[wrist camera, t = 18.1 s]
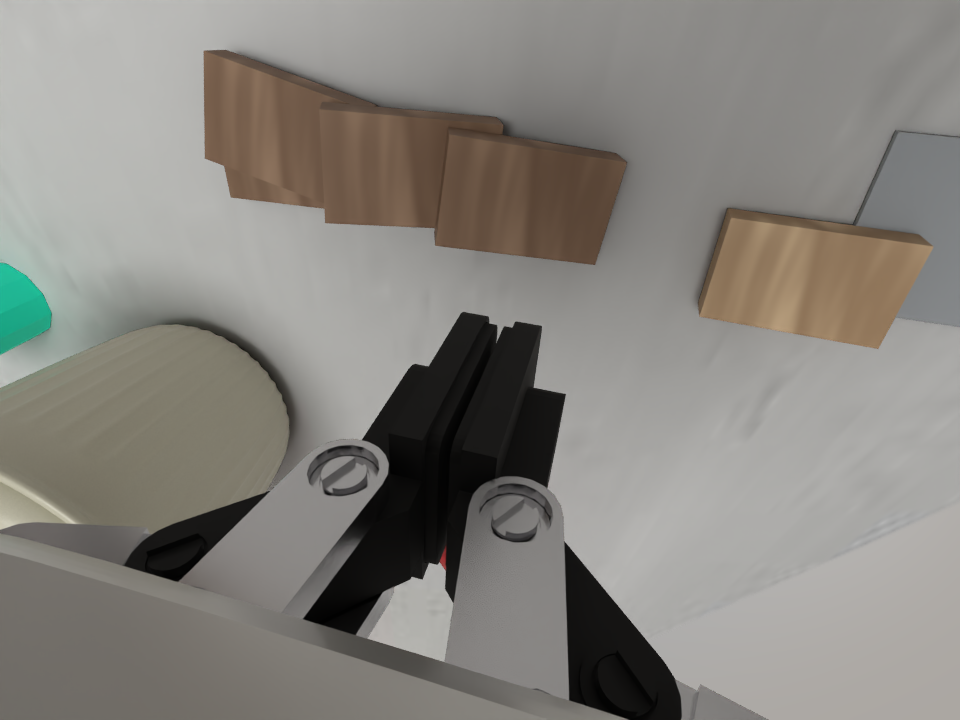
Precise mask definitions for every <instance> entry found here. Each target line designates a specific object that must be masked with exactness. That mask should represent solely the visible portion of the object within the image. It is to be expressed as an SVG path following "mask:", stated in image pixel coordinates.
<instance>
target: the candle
mask: <svg viewBox="0 0 960 720" xmlns="http://www.w3.org/2000/svg"><path fill="white" fill-rule="evenodd" d="M50 325H51V311H50V309H49V307H48V304H47V302H46V300H45V298H44V296H43V294H42V293H41V292H40V291H39V289H38V288H37V287H36V286H35V285H34V284H33V283H32V282H31V281H30V279H29V278H28V277H27V276H26V275H24V274H22V273H21V272H19V271H17V270H16V269H14V268H12V267H11V266H9V265H8V264H5V263H0V355H1V354H3V353H5V352H7V351H9V350H11V349H13V348H15V347H16V346H18V345H20V344H22V343H24V342H26V341H28V340H30V339H32V338H34V337H36V336H37V335H39V334H41V333H43V332H44V331H46V330H47V329H49V328H50Z"/></svg>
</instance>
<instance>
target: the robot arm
mask: <svg viewBox="0 0 960 720" xmlns="http://www.w3.org/2000/svg"><path fill="white" fill-rule="evenodd" d="M541 331H542V326H538V325H533V324H527V323H522V322H515V323H514V326H513V328H511V327H504V328H503V330H502V332H501V334H500V337H499V339H498V341H497V343H496V340H497V325H494V324H489V317H488V316H483V315H477V314H472V313H466V312H462V313H461V314H460V316H459V318H458V319H457V321H456V323H455V324H454V326H453V328H452V329H451V331H450V332H449V334H448V336H447V337H446V339H445V341H444V342H443V344H442V346H441V347H440V349H439V351H438V352H437V354H436V355H435V357H434V359H433V360H432V362H431V364H430V365H429V367H428V366H423V365H418V364H414V365H412V366H411V367H410V368H409V369H408V371H407V372H406V374H405V375H404V377H403V378H402V380H401V381H400V383H399V384H398V386H397V388H396V389H395V391H394V392H393V394H392V395H391V397H390V398H389V400H388V401H387V403H386V404H385V406H384V407H383V409H382V410H381V412H380V413H379V415H378V416H377V418H376V419H375V421H374V422H373V424H372V425H371V427H370V428H369V430H368V431H367V433H366V434H365V436H364V438H363V439H362V440H358V439H341V440H336V441H332V442H328V443H326V444H324V445H321V446H319V447H317V448H316V449H314V450H313V451H312V452H310V453H309V454H308V455H307V456H306V457H304V458H303V459H302V460H301V461H300V462H299V463H298V464H297V465H296V466H295V467H294V468H293V469H292V470H291V471H290V472H289V473H288V474H287V475H286V476H285V477H284V478H283V479H282V480H281V481H280V482H279V483H278V484H277V485H276V486H275V487H274V488H273V489H272V490H271V491H268V492H265V493H262V494H259V495H256V496H254V497H251V498H248V499H245V500H242V501H239V502H236V503H233V504H230V505H227V506H224V507H221V508H218V509H215V510H212V511H209V512H206V513H203V514H200V515H197V516H194V517H192V518H189V519H186V520H183V521H180V522H177V523H174V524H171V525H169V526H167V527H165V528H162V529H160V530H158V531H156V532H155V533H153V534H149V531H148V529H147V527H130V526H108V525H87V524H66V523H44V522H31V523H21V524H16V525H13V526H10V527H7V528H4V529H1V530H0V720H768V719H766V718H764V717H762V716H760V715H758V714H756V713H755V712H753V711H751V710H749V709H747V708H745V707H743V706H741V705H739V704H737V703H735V702H733V701H731V700H729V699H727V698H726V697H724V696H722V695H720V694H718V693H716V692H714V691H712V690H710V689H708V688H706V687H704V686H702V685H700V686H699V688H698V690H697V691H696V690H695V689H693V688H691V687H689V686H687V685H685V684H683V683H681V682H679V681H677V680H675V678H674V676H673V675H672V673H671V672H670V670H669V669H668V667H667V666H666V664H665V663H664V661H663V660H662V659H661V657H660V656H659V655H658V654H657V653H656V651H655V650H654V649H653V648H652V647H651V645H650V644H649V643H648V642H647V640H646V639H645V638H644V637H643V636H642V634H641V633H640V632H639V631H638V630H637V628H636V627H635V626H634V625H633V624H632V622H631V621H630V620H629V619H628V618H627V616H626V615H625V614H624V613H623V611H622V610H621V609H620V608H619V607H618V605H617V604H616V603H615V602H614V601H613V599H612V598H611V597H610V596H609V595H608V593H607V592H606V591H605V590H604V589H603V587H602V586H601V585H600V584H599V583H598V581H597V580H596V579H595V578H594V576H593V575H592V574H591V573H590V572H589V570H588V569H587V568H586V567H585V566H584V564H583V563H582V562H581V561H580V560H579V558H578V557H577V556H576V555H575V554H574V552H573V551H572V550H571V549H570V547H569V546H568V545H567V544H566V543H565V541H564V518H563V513H562V508H561V505H560V503H559V502H558V500H557V499H556V497H555V495H554V494H553V493H552V492H550V491H549V490H548V489H547V487H548V482H549V478H550V473H551V468H552V463H553V458H554V453H555V448H556V443H557V438H558V433H559V427H560V422H561V417H562V412H563V406H564V401H565V395H566V394H562V393H557V392H552V391H547V390H542V389H537V388H533V387H534V380H535V373H536V366H537V359H538V353H539V346H540V339H541ZM445 546H446V583H445V589H446V591H447V593H448V595H449V596H450V598H451V600H452V602H453V603H454V604H453V611H452V617H451V624H450V630H449V636H448V643H447V649H446V656H445V662H442V661H439V660H435V659H432V658H429V657H425V656H422V655H419V654H416V653H412V652H409V651H406V650H402V649H399V648H396V647H393V646H389V645H386V644H383V643H379V642H376V641H373V640H369V639H367V638H368V637H369V635H370V633H371V632H372V630H373V628H374V627H375V625H376V624H377V622H378V620H379V619H380V617H381V615H382V614H383V612H384V611H385V609H386V607H387V606H388V604H389V602H390V600H391V598H392V595H393V593H394V587H395V586H397V585H399V584H401V583H403V582H406V581H408V580H410V579H411V577H415V578H418V579H423V577H424V574H425V572H426V569H427V567H428V564H429V563H433V564H436V565H437V564H438V563H439V562H440V559H441V557H442V554H443V552H444V549H445Z"/></svg>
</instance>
